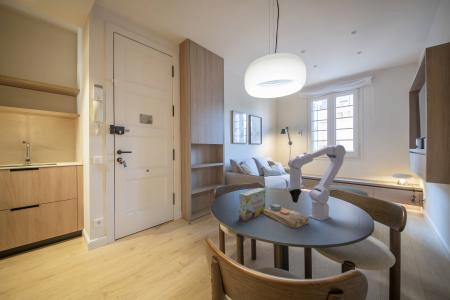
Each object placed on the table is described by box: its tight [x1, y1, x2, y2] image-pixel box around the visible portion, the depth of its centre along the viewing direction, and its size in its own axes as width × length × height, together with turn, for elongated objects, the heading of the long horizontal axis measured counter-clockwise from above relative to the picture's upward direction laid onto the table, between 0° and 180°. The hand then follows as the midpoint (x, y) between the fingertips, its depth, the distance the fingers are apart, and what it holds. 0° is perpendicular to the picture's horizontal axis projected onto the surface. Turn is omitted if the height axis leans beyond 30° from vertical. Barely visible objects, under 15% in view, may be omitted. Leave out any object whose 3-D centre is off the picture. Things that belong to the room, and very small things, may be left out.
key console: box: [263, 206, 310, 229], centre depth 102 cm, size 12×22×3 cm, turn 30°
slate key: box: [270, 203, 282, 212], centre depth 108 cm, size 4×4×4 cm
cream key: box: [289, 210, 302, 220], centre depth 95 cm, size 4×4×4 cm
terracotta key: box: [279, 208, 290, 216], centre depth 102 cm, size 4×4×4 cm
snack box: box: [238, 187, 267, 222], centre depth 106 cm, size 21×6×15 cm, turn 137°
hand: (295, 202), depth 101 cm, fingers closed
